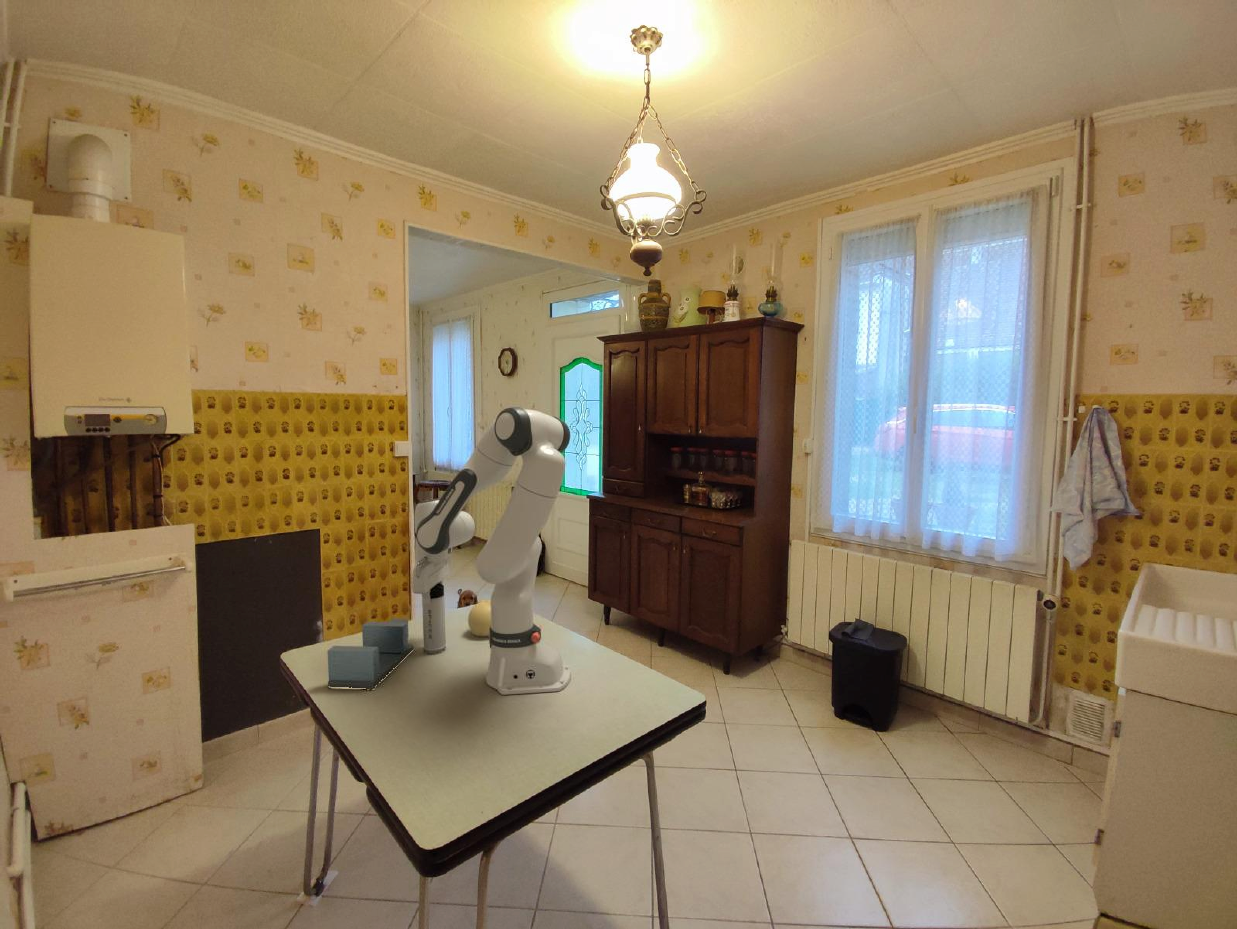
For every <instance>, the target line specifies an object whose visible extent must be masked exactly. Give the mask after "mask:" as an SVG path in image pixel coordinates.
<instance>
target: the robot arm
mask: <svg viewBox="0 0 1237 929" xmlns="http://www.w3.org/2000/svg"><path fill="white" fill-rule="evenodd" d="M570 440H571V431H570V426H568V424H567V423H566V422H565V421H564V420H562V419H560V418H559V417H557V416H552V415H550V414H547V413H544V412H542V411H538V410H535V409H527V408H523V407H520V406H519V407H516V406H513V407H512V406H511V407H507V408H504V409H503V410H501V411H500V412H499V414H497V416H496V418H495V419H494V420H493V421H492V423H491V424H489V427H487V429H486V430H485V432H484V434H483V435H482V436H481V438H480V439H479V441H478V443H477V445H476V447H475V449H474V450H473V452H472V454H471V455H470V456H469V459H468V460H467V461H466V463H465V465H464V466H463V467H462V468H461V469H460V471H459V472H458V473H457V474H456V476H455V477H454V478H453V479H452V481H451V482H450V484H449V485H448V487H447V488H446V489H445V491H444V493H443V494H442V496H441V497H440V498H437V497H436V498H431V499H426V500H421V501H419V502H418V503H417V504H416V506H415V511H414V532H415V538H416V539H415V542H414V543H415V546H414V548H415V549H414V550H415V552H414V553H415V561H416V562H417V563H416V565H415V566H414V568H413V570H412V579H411V580H412V581H411V582H412V583H411V590H412V593H413V594H415V595H416V594H419V595H421V596H422V597H423V601H424V604H429V603H431V597H430V594H429V593H430V589H431V588H433V587H434V586H435V585H436V584H438V583H440V584H442V585H443V586H444V579H445V578H447V577H448V576H449V575H450V573H451V571H452V570H451V569H452V568H451V566H452V555H451V553H452V552H453V548H455V547H457V546H459V545H462V544H465V543H467V542H469V541H471V540H472V539H473V538H474V536H475V533H476V528H477V527H476V521H475V520H474V517H473V516H472V515H471V514H470V513H469V512H467V511H464V510H463V509H464V507H465V506H466V505H467V503H468V502H469V501H470V500H471V499H472V498H473V497H475V496H476V495H477V494H479V493H481V492H483V491H485V490H487V489H489V488H491V487H494V486H497V484H500V483H501V482H502V481H503V480H504V479H505V478H506V477H507V475H508V474H509V472H510V471H511V470H512V467H513V465H514V464H515V462H516V460H517V458H518V457H519V456H521V459H522V466H521V470H520V471H519V475H518V476H517V478H516V481H515V484H514V486H513V490H512V491H511V494H510V497H509V499H508V502H507V505H506V506H505V508H504V511H503V513H502V515H501V516H500V518H499V519H498V522H496V525H495V526H494V529H493V530H492V532H491V534H490V536H489V537H488V539H487V541H486V542H485V544H484V546H483V548H482V549H480V551H479V553H478V554H477V557H476V560H475V568H476V571H477V574H478V575H479V577H480V578H481V579H482V580H483V581H485V582H486V583H488V584H492V585H494V588H493V592H492V594H491V596H490V599H491V627H490V631H489V636H488V644H489V648H490V656H489V663H488V664H489V665H488V670H487V673H486V676H485V682H486V683H487V685H488V686H489V687H490V688H493V689H495V690H497V691H498V693H499V694H500V695H503V696H504V695H516V694H517V695H519V694H522V695H523V694H533V693H551V692H560V691H562V690H563V689H565V687H567V686H568V684H569V682H570V680H571V678H572V669H571V667H570V666H569V665H568V664H567V663H563V658H562V654H561V652H560V650H559V649H558V648H557V647H555V646H553V644H551V643H549V642H548V641H546V640H545V639H544V638H542V625H539V626H537V625H536V624H535V623H534V590H535V585H536V580H537V572H538V566H539V564H538V563H539V559H540V556H541V553H542V548H543V544H542V543H543V542H542V541H541V540H542V539H541V538H540V537H539V535H540V534H541V532H542V530H543V529H544V527H545V526H546V525H547V522H548V520H549V516H550V514H551V513H552V509H553V507H554V505H555V502H556V500H557V497H558V494H559V491H560V488H561V485H562V482H563V479H564V474H565V471H566V470H565V468H566V465H567V464H566V459H565V457H564V455H563V453H564V451H565V450H566V449H567V447H568V446H569V444H570ZM462 510H463V511H462ZM422 597H421V598H422Z"/></svg>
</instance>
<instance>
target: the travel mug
mask: <svg viewBox="0 0 1237 929" xmlns="http://www.w3.org/2000/svg"><path fill="white" fill-rule="evenodd" d="M429 594H430V597H431V603H429V604H424V601H423V597H421V600H422V601H421V602H422V606H421V607H422V629H423V631H422V633H423V634H422V635H423V639H422V640H423V652H424V651H425V652H426V653H425V652H424V653H425V654H427V653H429V654H428V655H434V654H433V653H437V654H440V653H439V652H441V651H443V652H445V650H446V649H447V643H446V641H447V640H446V637H447V636H446V608H445V607H446V606H445V586H444V584H443V585H442V584H440V583H438V584H436V585H435V586H434V587H433V588H431V589H430V593H429ZM445 648H446V649H445ZM441 653H442V652H441Z"/></svg>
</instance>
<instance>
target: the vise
mask: <svg viewBox="0 0 1237 929" xmlns="http://www.w3.org/2000/svg"><path fill="white" fill-rule="evenodd" d="M414 648H415V647H414V643H413V644H412V643H411V644H410V643H408V649H407V650H406V651H405V652H404V653H387V652H379V647H363V645H361V646H359V645H358V646H354V645H350V646H349V645H332V647H330V648H329V649H328V650H327V652H326V653H327V670H328V681H327V687H328V686H330V687H349V688H351V687H352V688H366V689H374V688H375V686H376V685H378V684H379V682H381V680H382V679H384V678H385V677H386V675H388V674H389V672H391V671H392V670H393V668H395V667H396V666H397V665H398V664H399V663H400V662H401V661H402V660H403V659H404V658H405V657H406V656H407V655H408V654H409V653H410V652H411V651H412V650H413V649H414ZM414 650H415V649H414ZM384 680H385V679H384ZM381 683H382V682H381ZM379 685H380V684H379ZM379 685H378V686H379ZM375 689H376V688H375ZM375 689H374V690H375Z"/></svg>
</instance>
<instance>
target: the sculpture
mask: <svg viewBox="0 0 1237 929" xmlns="http://www.w3.org/2000/svg"><path fill="white" fill-rule="evenodd" d="M467 617H468V618H467V622H468V627H469V629H470V631H471V632H472V634H474V636H478V637H489V631H490V627H491V598H490V599H485V600H484V599H482V600H479V601H477V603H476V604H475V605H474V606H473V607H471V610H470V611H469V613H468V616H467Z"/></svg>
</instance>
